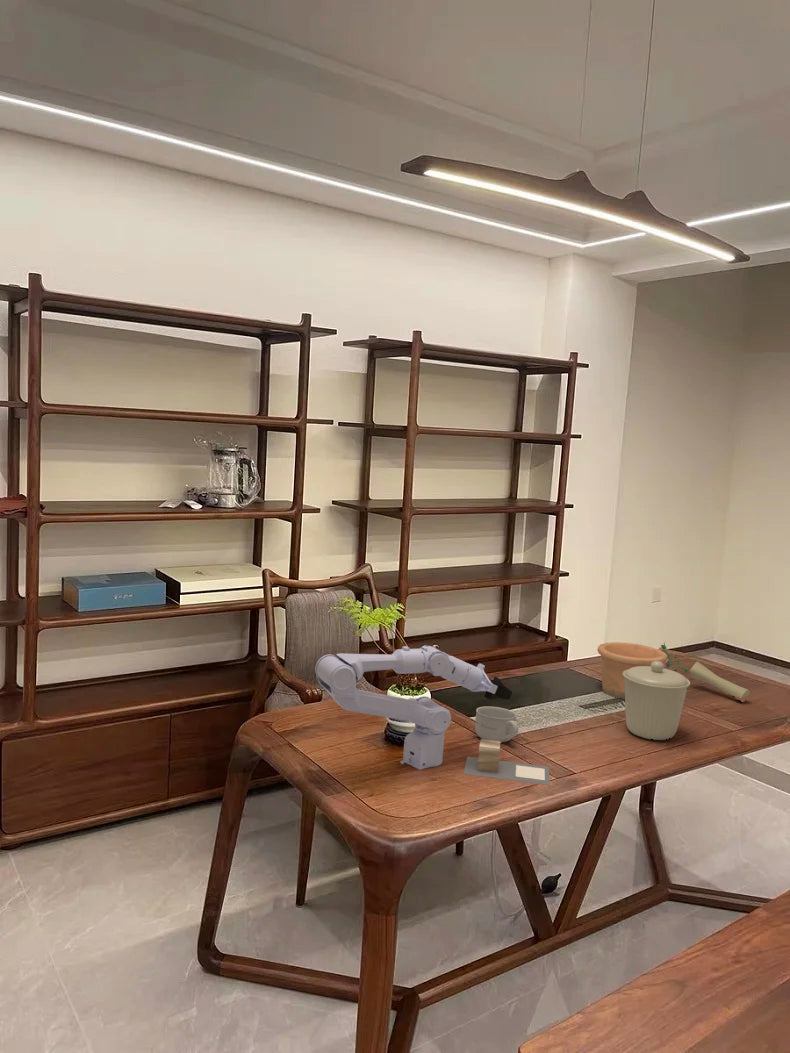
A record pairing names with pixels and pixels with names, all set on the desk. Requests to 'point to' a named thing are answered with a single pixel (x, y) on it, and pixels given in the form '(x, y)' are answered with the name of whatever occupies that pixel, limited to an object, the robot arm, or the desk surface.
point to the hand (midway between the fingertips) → (501, 690)
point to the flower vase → (708, 677)
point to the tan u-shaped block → (489, 756)
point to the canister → (654, 700)
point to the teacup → (495, 724)
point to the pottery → (624, 663)
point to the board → (511, 771)
